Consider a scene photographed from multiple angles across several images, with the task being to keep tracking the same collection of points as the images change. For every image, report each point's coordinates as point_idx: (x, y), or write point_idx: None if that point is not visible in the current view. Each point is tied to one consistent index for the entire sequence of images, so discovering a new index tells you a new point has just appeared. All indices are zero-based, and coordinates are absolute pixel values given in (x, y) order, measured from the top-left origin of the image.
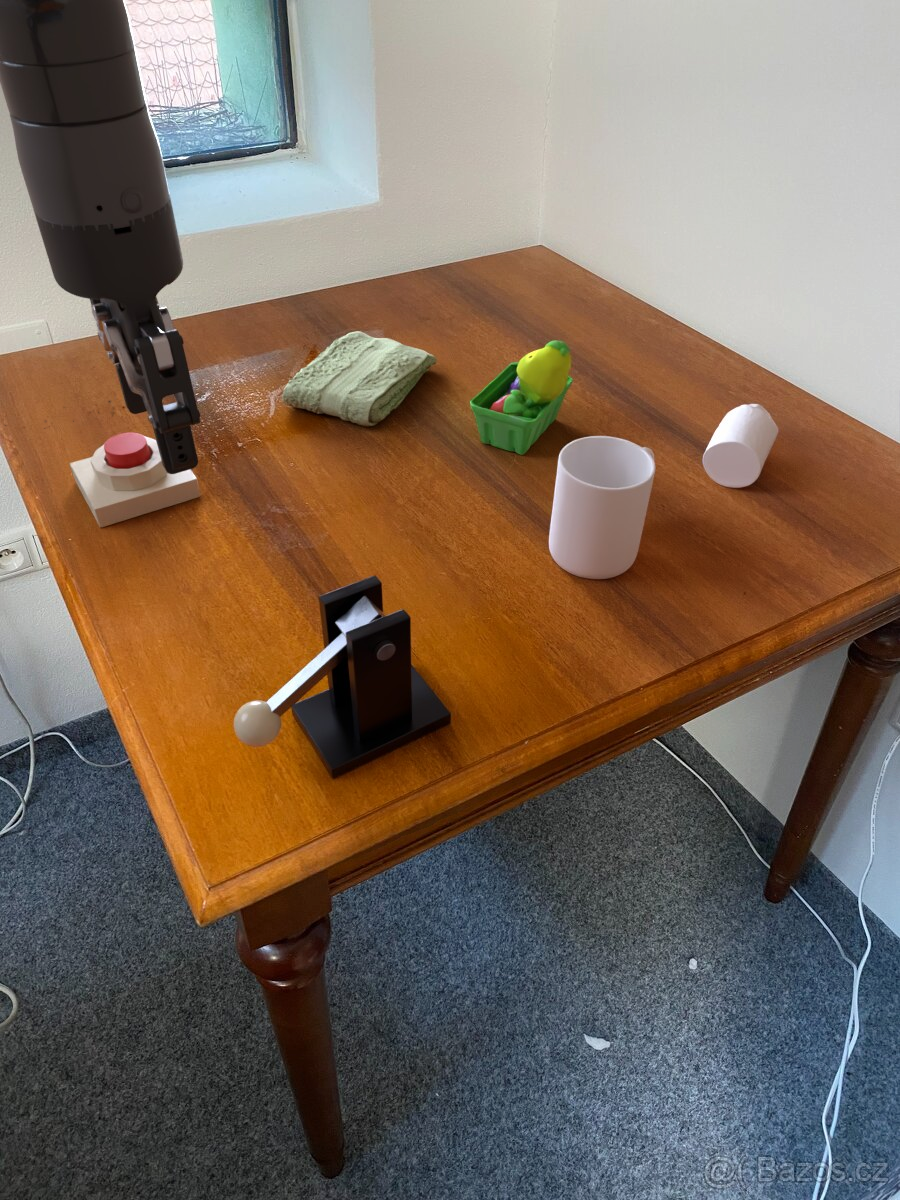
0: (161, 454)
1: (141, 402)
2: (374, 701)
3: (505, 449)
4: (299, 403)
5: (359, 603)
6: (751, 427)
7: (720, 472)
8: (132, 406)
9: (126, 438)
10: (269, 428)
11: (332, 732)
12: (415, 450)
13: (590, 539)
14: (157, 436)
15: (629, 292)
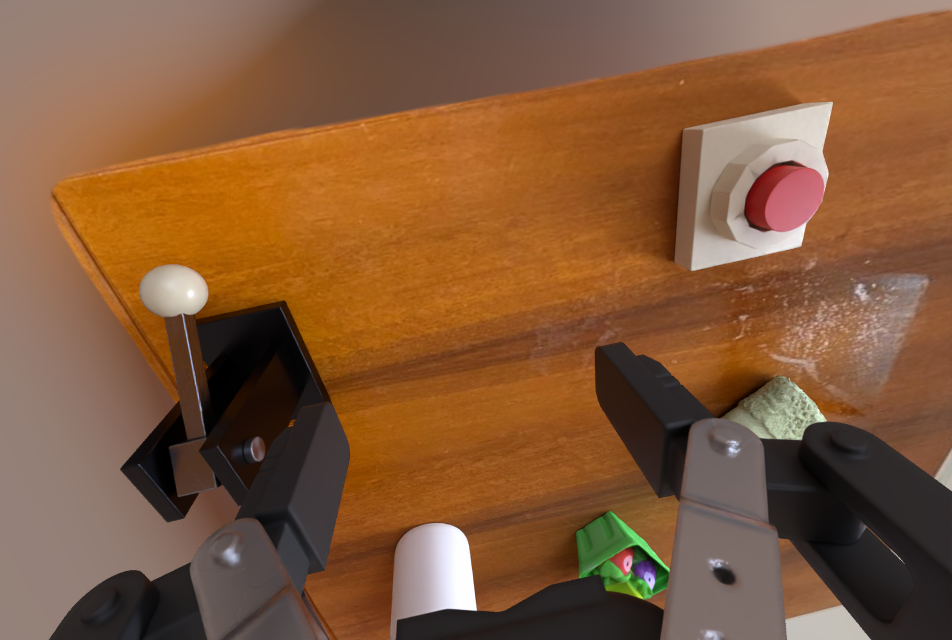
0: (290, 439)
1: (606, 382)
2: None
3: (589, 524)
4: (764, 392)
5: (209, 477)
6: None
7: None
8: (604, 361)
9: (805, 204)
10: (751, 350)
11: (234, 336)
12: (630, 464)
13: (399, 579)
14: (267, 487)
15: None
